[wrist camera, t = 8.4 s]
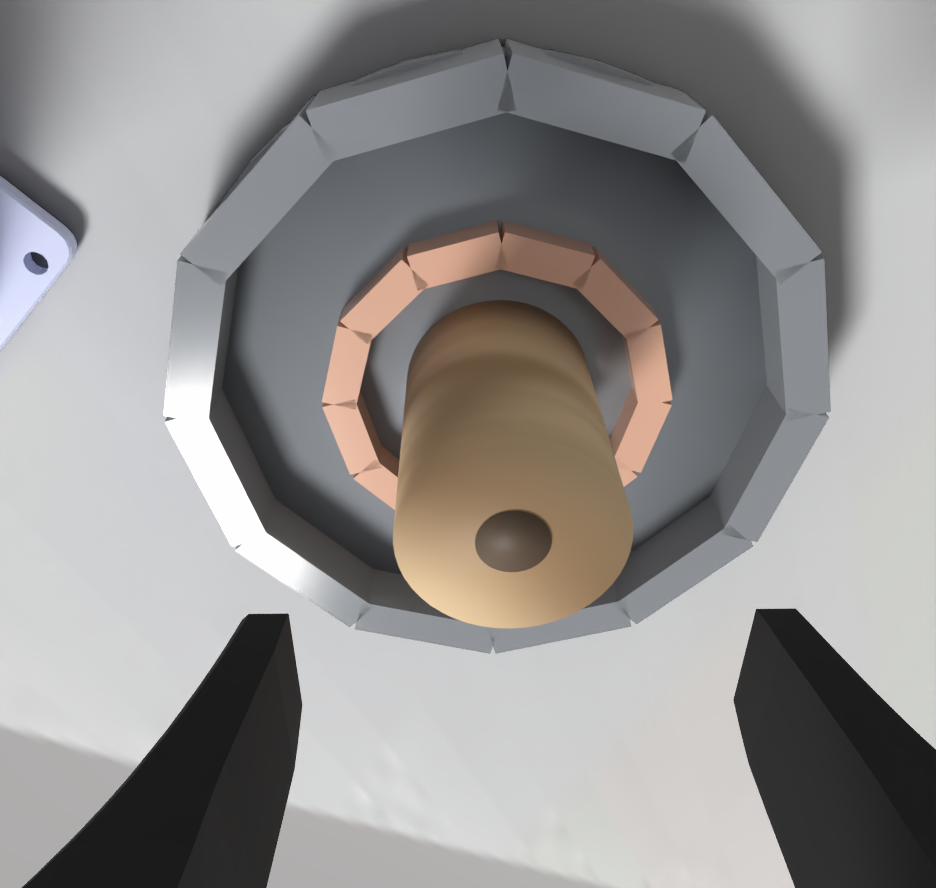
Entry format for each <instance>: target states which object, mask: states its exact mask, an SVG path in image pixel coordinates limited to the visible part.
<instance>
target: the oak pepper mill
mask: <svg viewBox="0 0 936 888" xmlns="http://www.w3.org/2000/svg"><path fill="white" fill-rule="evenodd" d="M632 541H633V520H632V514H631V510H630V507H629V504H628V500H627V497H626V493H625V490H624V487H623V483H622V480H621V477H620V473H619V470H618V466H617V463H616V460H615V456H614V453H613V450H612V446H611V443H610V440H609V436H608V433H607V429H606V426H605V423H604V419H603V416H602V413H601V409H600V406H599V403H598V399H597V396H596V392H595V389H594V386H593V382H592V379H591V376H590V372H589V369H588V365H587V362H586V359H585V355H584V352H583V350H582V348H581V346H580V344H579V342H578V340H577V339H576V337H575V336H574V334H573V333H572V332H571V331H570V330H569V329H568V328H567V326H566V325H565V324H563V323H562V322H561V321H560V320H559V319H557V318H556V317H555V316H553V315H551V314H550V313H548V312H547V311H544V310H542V309H540V308H538V307H536V306H533V305H529V304H526V303H522V302H517V301H509V300H492V301H483V302H478V303H474V304H471V305H467V306H464V307H462V308H460V309H457V310H455V311H453V312H451V313H449V314H448V315H446V316H445V317H443V318H442V319H440V320H439V321H438V322H437V323H435V324H434V325H433V326H432V327H431V328H430V329H429V330H428V331H427V332H426V333H425V335H424V336H423V337H422V339H421V340H420V342H419V343H418V344H417V346H416V348H415V350H414V352H413V354H412V357H411V360H410V363H409V368H408V373H407V383H406V394H405V405H404V416H403V427H402V439H401V450H400V461H399V472H398V483H397V494H396V506H395V517H394V528H393V546H394V553H395V557H396V560H397V563H398V567H399V569H400V571H401V573H402V575H403V577H404V578H405V580H406V581H407V582H408V584H409V585H410V587H411V588H412V589H413V590H414V591H415V592H416V593H417V594H418V595H419V596H420V597H421V598H422V599H423V600H424V601H426V602H427V603H428V604H429V605H430V606H432V607H434V608H435V609H437V610H439V611H440V612H442V613H444V614H446V615H448V616H450V617H452V618H454V619H457V620H460V621H463V622H466V623H470V624H474V625H478V626H483V627H491V628H508V629H512V628H526V627H532V626H538V625H543V624H547V623H550V622H554V621H557V620H559V619H562V618H565V617H567V616H570V615H572V614H574V613H576V612H578V611H580V610H581V609H583V608H585V607H586V606H588V605H589V604H591V603H592V602H594V601H595V600H596V599H597V598H599V597H600V596H601V595H602V594H603V593H604V592H605V591H606V590H607V589H608V588H609V587H610V586H611V585H612V584H613V583H614V581H615V580H616V579H617V577H618V576H619V575H620V573H621V571H622V569H623V568H624V566H625V564H626V562H627V559H628V557H629V554H630V551H631V546H632Z"/></svg>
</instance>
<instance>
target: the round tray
mask: <svg viewBox="0 0 936 888" xmlns="http://www.w3.org/2000/svg"><path fill="white" fill-rule="evenodd" d="M821 252H822V251H821V250H820V249H819V247H818V246H817V245H816V244H815V242H814V241H813V240H812V239H811V237H810V236H809V235H808V234H807V232H806V231H805V230H804V229H803V227H802V226H801V225H800V224H799V222H798V221H797V220H796V219H795V217H794V216H793V215H792V214H791V212H790V211H789V210H788V209H787V207H786V206H785V205H784V204H783V202H782V201H781V200H780V199H779V197H778V196H777V195H776V194H775V192H774V191H773V190H772V189H771V187H770V186H769V185H768V184H767V182H766V181H765V180H764V179H763V177H762V176H761V175H760V174H759V172H758V171H757V170H756V168H755V167H754V165H753V164H752V163H751V162H750V161H749V160H748V159H747V157H746V156H745V155H744V154H743V152H742V151H741V150H740V149H739V147H738V146H737V145H736V144H735V142H734V141H733V140H732V139H731V137H730V136H729V135H728V134H727V132H726V131H725V130H724V128H723V127H722V126H721V125H720V123H719V122H718V121H717V120H716V118H715V117H714V116H713V115H712V114H711V113H710V112H708V111H707V110H706V109H705V108H704V107H702V106H701V105H700V104H699V103H697V102H696V101H695V100H694V99H692V98H691V97H690V96H689V95H686V94H685V93H684V92H683V91H681V90H678V89H675V88H671V87H668V86H665V85H661V84H658V83H654V82H651V81H648V80H646V79H645V78H643V77H641V76H638V75H636V74H633V73H630V72H628V71H625V70H623V69H620V68H617V67H615V66H612V65H609V64H607V63H604V62H602V61H599V60H596V59H591V58H587V57H582V56H577V55H573V54H568V53H564V52H559V51H555V50H549V49H540V48H537V47H533V46H530V45H527V44H523V43H520V42H517V41H513V40H510V39H506V42H505V46H501V44H500V41H499V38H498V39H495V40H492V41H488V42H485V43H481V44H478V45H475V46H471V47H468V48H464V49H455V50H450V51H445V52H440V53H436V54H431V55H427V56H422V57H417V58H413V59H408V60H405V61H402V62H399V63H397V64H394V65H391V66H389V67H386V68H383V69H381V70H378V71H375V72H373V73H370V74H367V75H365V76H362V77H360V78H358V79H356V80H354V81H351V82H348V83H345V84H341V85H338V86H334V87H331V88H328V89H324V90H321V91H319V93H318V94H317V96H316V97H315V96H314V95H313V96H312V97H311V98H310V100H309V101H308V102H307V103H306V104H305V105H304V107H303V108H302V109H301V110H300V111H299V112H298V114H297V115H296V116H295V117H294V118H293V119H292V121H291V122H289V123H288V124H287V125H285V126H284V127H283V128H282V129H281V130H280V131H279V132H278V133H277V134H276V135H275V136H274V137H273V138H272V139H271V140H270V141H269V142H268V143H267V144H266V145H265V146H264V147H263V148H262V149H261V150H260V151H259V152H258V153H257V155H256V156H255V157H254V158H253V159H252V160H251V161H250V163H249V164H248V165H247V167H246V168H245V169H244V171H243V172H242V173H241V175H240V176H239V178H238V179H237V180H236V182H235V183H234V184H233V186H232V187H231V189H230V190H229V191H228V193H227V194H226V195H225V197H224V198H223V199H222V201H221V203H220V205H219V206H218V207H217V209H216V210H215V211H214V212H213V213H212V214H211V216H210V217H209V218H208V219H207V220H206V222H205V223H204V224H203V225H202V227H201V228H200V229H199V230H198V232H197V233H196V234H195V236H194V237H193V238H192V240H191V241H190V242H189V243H188V245H187V246H186V247H185V249H184V250H183V251H182V253H181V257H180V258H179V259H178V261H177V272H176V282H175V293H174V304H173V315H172V326H171V337H170V348H169V358H168V369H167V380H166V391H165V402H164V413H163V416H167V418H166V420H165V423H166V425H167V427H168V429H169V431H170V433H171V435H172V437H173V438H174V440H175V442H176V444H177V446H178V448H179V450H180V451H181V453H182V455H183V457H184V459H185V461H186V463H187V465H188V466H189V468H190V470H191V472H192V474H193V476H194V478H195V480H196V481H197V483H198V485H199V487H200V489H201V491H202V493H203V494H204V496H205V498H206V500H207V502H208V504H209V506H210V508H211V509H212V511H213V513H214V515H215V517H216V519H217V521H218V522H219V524H220V526H221V528H222V530H223V532H224V534H225V536H226V537H227V539H228V541H229V543H230V545H231V546H236V545H237V547H236V550H235V551H237V552H238V553H239V554H241V555H242V556H244V557H245V558H247V559H248V560H250V561H251V562H253V563H254V564H256V565H257V566H259V567H260V568H262V569H263V570H265V571H266V572H268V573H269V574H271V575H272V576H274V577H275V578H277V579H278V580H280V581H281V582H283V583H284V584H286V585H287V586H289V587H290V588H292V589H293V590H295V591H296V592H298V593H299V594H301V595H302V596H304V597H305V598H307V599H308V600H310V601H311V602H313V603H314V604H316V605H317V606H319V607H320V608H322V609H323V610H325V611H326V612H328V613H329V614H331V615H332V616H334V617H335V618H337V619H338V620H340V621H341V622H343V623H344V624H346V625H347V626H349V627H350V626H352V625H353V624H354V623H355V622H356V625H355V629H357V630H362V631H368V632H373V633H379V634H384V635H390V636H395V637H401V638H406V639H412V640H417V641H423V642H428V643H434V644H439V645H445V646H451V647H456V648H462V649H467V650H473V651H478V652H484V653H489V654H490V652H491V650H492V647H494V650H495V653H501V652H506V651H511V650H516V649H521V648H526V647H531V646H536V645H541V644H546V643H551V642H556V641H561V640H566V639H571V638H576V637H581V636H586V635H591V634H596V633H601V632H606V631H611V630H616V629H621V628H626V627H631V623H630V619H631V620H632V621H633V622H635V623H636V624H638V623H639V622H641V621H642V620H644V619H645V618H647V617H648V616H650V615H651V614H653V613H654V612H656V611H657V610H659V609H660V608H662V607H663V606H665V605H666V604H668V603H669V602H671V601H672V600H674V599H675V598H677V597H678V596H680V595H681V594H683V593H684V592H686V591H687V590H689V589H690V588H692V587H693V586H695V585H696V584H698V583H699V582H701V581H702V580H704V579H705V578H706V577H708V576H709V575H711V574H712V573H714V572H715V571H717V570H718V569H720V568H721V567H723V566H724V565H726V564H727V563H729V562H730V561H732V560H733V559H735V558H736V557H738V556H739V555H741V554H742V553H744V552H745V551H747V550H748V549H750V548H751V547H753V545H752V543H751V541H755V542H758V540H759V538H760V536H761V535H762V533H763V531H764V530H765V528H766V526H767V524H768V523H769V521H770V519H771V517H772V516H773V514H774V512H775V510H776V509H777V507H778V505H779V503H780V502H781V500H782V498H783V497H784V495H785V493H786V491H787V490H788V488H789V486H790V484H791V483H792V481H793V479H794V477H795V476H796V474H797V472H798V470H799V469H800V467H801V465H802V464H803V462H804V460H805V458H806V457H807V455H808V453H809V451H810V450H811V448H812V446H813V444H814V443H815V441H816V439H817V438H818V436H819V434H820V432H821V431H822V429H823V427H824V425H825V424H826V422H827V420H828V418H829V417H828V415H827V414H826V412H831V408H830V383H829V359H828V334H827V309H826V284H825V260H824V258H823V257H822V256H821V255H820V253H821ZM492 300H509V301H517V302H522V303H526V304H529V305H533V306H536V307H538V308H540V309H542V310H544V311H547V312H548V313H550V314H551V315H553V316H555V317H556V318H557V319H559V320H560V321H561V322H562V323H563V324H565V325H566V326H567V328H568V329H569V330H570V331H571V332H572V333H573V334H574V336H575V337H576V339H577V340H578V342H579V344H580V346H581V348H582V350H583V352H584V355H585V359H586V362H587V365H588V369H589V372H590V376H591V379H592V382H593V386H594V389H595V392H596V396H597V399H598V403H599V406H600V409H601V413H602V416H603V419H604V423H605V426H606V429H607V433H608V436H609V440H610V443H611V446H612V450H613V453H614V456H615V460H616V463H617V466H618V470H619V473H620V477H621V480H622V483H623V487H624V490H625V493H626V497H627V500H628V504H629V507H630V510H631V514H632V520H633V541H632V546H631V551H630V554H629V557H628V559H627V562H626V564H625V566H624V568H623V569H622V571H621V573H620V575H619V576H618V577H617V579H616V580H615V581H614V583H613V584H612V585H611V586H610V587H609V588H608V589H607V590H606V591H605V592H604V593H603V594H602V595H601V596H600V597H599V598H597V599H596V600H595V601H594V602H592V603H591V604H589V605H588V606H586V607H585V608H583V609H581V610H580V611H578V612H576V613H574V614H572V615H570V616H567V617H565V618H562V619H559V620H557V621H554V622H550V623H547V624H543V625H538V626H532V627H526V628H512V629H508V628H491V627H483V626H478V625H474V624H470V623H466V622H463V621H460V620H457V619H454V618H452V617H450V616H448V615H446V614H444V613H442V612H440V611H439V610H437V609H435V608H434V607H432V606H430V605H429V604H428V603H427V602H426V601H424V600H423V599H422V598H421V597H420V596H419V595H418V594H417V593H416V592H415V591H414V590H413V589H412V588H411V587H410V585H409V584H408V582H407V581H406V580H405V578H404V577H403V575H402V573H401V571H400V569H399V567H398V563H397V560H396V557H395V553H394V546H393V528H394V517H395V506H396V494H397V483H398V472H399V461H400V450H401V439H402V427H403V416H404V405H405V394H406V383H407V373H408V368H409V363H410V360H411V357H412V354H413V352H414V350H415V348H416V346H417V344H418V343H419V342H420V340H421V339H422V337H423V336H424V335H425V333H426V332H427V331H428V330H429V329H430V328H431V327H432V326H433V325H434V324H435V323H437V322H438V321H439V320H440V319H442V318H443V317H445V316H446V315H448V314H449V313H451V312H453V311H455V310H457V309H460V308H462V307H464V306H467V305H471V304H474V303H478V302H483V301H492Z"/></svg>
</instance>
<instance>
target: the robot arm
mask: <svg viewBox="0 0 936 888" xmlns="http://www.w3.org/2000/svg"><path fill="white" fill-rule="evenodd" d="M31 252H37V253H39V254H41V255H43V256H44V258H45V259H46V260H47V262H48V266H49V267H48V268H42V267H40V266H38V265H36V264H35V262H34V261H33V260H32V257H31ZM76 252H77V242H76V240H75V238H74V235H73V234H72V233H71V232H70V230H69V229H68V228H67V227H66V226H64V225H63V224H62V223H60V222H59V221H58V220H57V219H55V218H54V217H53V216H51V215H50V214H49V213H48V212H46V211H45V210H44V209H42V208H41V207H40V206H39V205H37V204H36V203H35V202H33V201H32V200H31V199H30V198H28V197H27V196H26V195H24V194H23V193H22V192H21V191H19V190H18V189H17V188H15V187H14V186H13V185H12V184H10V183H9V182H8V181H6V180H5V179H4V178H3V177H1V176H0V351H1V350H2V348H3V347H4V346H5V345H6V343H7V342H8V341H9V340H10V338H11V337H12V336H13V334H14V333H15V332H16V331H17V329H18V328H19V327H20V326H21V324H22V323H23V322H24V321H25V319H26V318H27V317H28V315H29V314H30V313H31V312H32V310H33V309H34V308H35V307H36V305H37V304H38V303H39V302H40V300H41V299H42V298H43V296H44V295H45V294H46V293H47V291H48V290H49V289H50V288H51V286H52V285H53V284H54V283H55V281H56V280H57V279H58V277H59V276H60V275H61V274H62V272H63V271H64V270H65V269H66V267H67V266H68V265H69V263H70V262H71V261H72V260H73V258H74V257H75V254H76ZM734 704H735V708H736V713H737V717H738V722H739V726H740V730H741V735H742V739H743V743H744V747H745V750H746V754H747V758H748V762H749V765H750V768H751V771H752V774H753V776H754V779H755V782H756V785H757V787H758V790H759V793H760V795H761V798H762V801H763V804H764V806H765V809H766V812H767V814H768V817H769V820H770V822H771V825H772V828H773V830H774V833H775V835H776V838H777V841H778V843H779V846H780V849H781V851H782V854H783V857H784V859H785V862H786V864H787V867H788V870H789V872H790V875H791V878H792V880H793V883H794V886H795V888H936V749H934V748H933V747H932V746H931V745H930V744H929V743H928V742H927V741H926V740H924V739H923V738H922V737H921V736H920V735H919V734H918V733H917V732H916V731H915V730H914V729H913V728H912V727H911V726H910V725H909V724H907V723H906V722H905V721H904V720H903V719H902V718H901V717H900V716H899V715H898V714H897V713H896V712H895V711H894V710H893V709H892V708H891V707H890V706H889V705H888V704H887V703H886V702H885V701H884V700H883V699H882V698H881V697H880V696H879V695H878V694H877V693H876V692H875V691H874V690H873V689H872V688H871V687H870V686H869V685H868V684H867V683H866V682H865V681H864V680H863V679H862V678H861V677H860V676H859V675H858V674H857V673H856V671H855V670H854V669H853V668H852V667H851V666H850V665H849V664H848V663H847V662H846V661H845V660H844V659H843V658H842V657H841V656H840V655H839V654H838V653H837V652H836V651H835V650H834V648H833V647H832V646H831V645H830V644H829V643H828V642H827V641H826V640H825V639H824V638H823V637H822V636H821V635H820V634H819V633H818V632H817V631H816V629H815V628H814V627H813V626H812V625H811V624H810V623H809V622H808V621H807V620H806V619H805V618H804V617H803V616H802V615H801V614H800V613H799V612H798V611H797V610H796V609H756V612H755V616H754V620H753V624H752V628H751V632H750V636H749V640H748V644H747V648H746V652H745V656H744V660H743V664H742V668H741V672H740V676H739V680H738V684H737V688H736V692H735V696H734ZM301 711H302V700H301V694H300V687H299V680H298V674H297V667H296V660H295V654H294V647H293V640H292V634H291V627H290V620H289V614H248V615H247V616H246V617H245V618H244V619H243V620H242V621H241V623H240V624H239V626H238V628H237V629H236V631H235V633H234V634H233V636H232V637H231V639H230V641H229V642H228V644H227V645H226V647H225V648H224V650H223V652H222V653H221V655H220V656H219V658H218V659H217V661H216V662H215V664H214V665H213V667H212V668H211V670H210V671H209V672H208V674H207V675H206V677H205V678H204V680H203V681H202V683H201V684H200V686H199V687H198V688H197V690H196V691H195V692H194V694H193V695H192V697H191V698H190V699H189V701H188V702H187V703H186V705H185V706H184V708H183V709H182V710H181V712H180V713H179V714H178V716H177V717H176V718H175V720H174V721H173V723H172V724H171V725H170V727H169V728H168V729H167V730H166V732H165V733H164V734H163V736H162V737H161V738H160V739H159V740H158V742H157V743H156V744H155V745H154V747H153V748H152V749H151V750H150V752H149V753H148V754H147V755H146V756H145V758H144V759H143V760H142V761H141V763H140V764H139V765H138V766H137V768H136V769H135V770H134V771H133V773H132V774H131V775H130V776H129V777H128V779H127V780H126V781H125V782H124V783H123V784H122V785H121V787H120V788H119V789H118V790H117V791H116V792H115V793H114V795H113V796H112V797H111V798H110V799H109V800H108V801H107V802H106V803H105V805H104V806H103V807H102V808H101V809H100V810H99V811H98V812H97V813H96V814H95V815H94V816H93V818H92V819H91V820H90V821H89V822H88V823H87V824H86V825H85V826H84V827H83V828H82V829H81V830H80V831H79V832H78V833H77V834H76V835H75V836H74V838H73V839H71V841H69V843H67V844H66V845H65V846H64V847H63V848H62V849H61V850H60V851H59V852H58V854H56V855H55V856H54V857H53V858H52V859H51V860H50V861H49V862H48V863H47V864H46V865H45V866H44V867H43V868H42V869H41V870H40V871H39V872H38V873H37V874H36V875H35V876H34V877H33V878H32V879H31V880H30V881H28V882H27V883H26V884H25V885H24V886H23V887H22V888H266V886H267V882H268V878H269V874H270V870H271V866H272V861H273V857H274V853H275V849H276V845H277V841H278V836H279V832H280V828H281V824H282V820H283V816H284V811H285V807H286V803H287V799H288V794H289V790H290V786H291V782H292V777H293V773H294V768H295V760H296V753H297V745H298V737H299V728H300V720H301Z"/></svg>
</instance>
